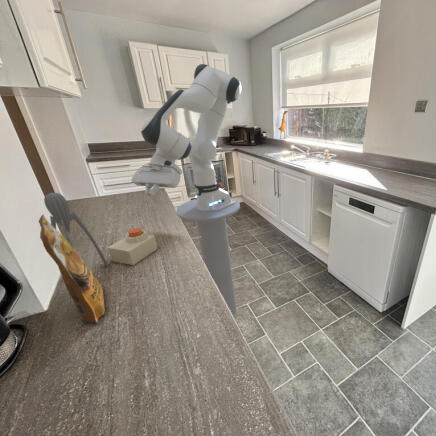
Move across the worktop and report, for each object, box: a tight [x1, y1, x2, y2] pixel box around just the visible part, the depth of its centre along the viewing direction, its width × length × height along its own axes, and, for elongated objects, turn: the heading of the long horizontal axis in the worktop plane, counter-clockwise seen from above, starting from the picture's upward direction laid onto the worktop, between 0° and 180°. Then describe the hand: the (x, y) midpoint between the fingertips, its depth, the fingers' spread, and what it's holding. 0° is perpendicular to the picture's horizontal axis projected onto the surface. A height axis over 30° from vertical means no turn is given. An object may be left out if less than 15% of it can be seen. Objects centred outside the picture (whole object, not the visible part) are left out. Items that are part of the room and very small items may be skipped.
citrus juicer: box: [43, 192, 108, 268], centre depth 75 cm, size 11×10×30 cm
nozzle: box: [127, 227, 143, 237], centre depth 93 cm, size 4×4×2 cm
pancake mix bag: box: [38, 214, 106, 324], centre depth 64 cm, size 7×19×28 cm, turn 38°
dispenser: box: [106, 229, 158, 266], centre depth 93 cm, size 12×10×8 cm
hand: (148, 194), depth 97 cm, fingers closed
